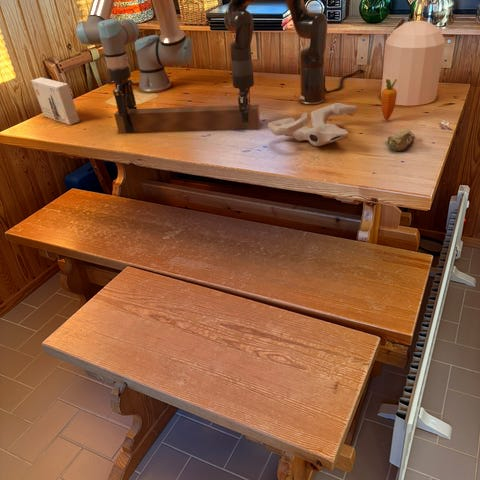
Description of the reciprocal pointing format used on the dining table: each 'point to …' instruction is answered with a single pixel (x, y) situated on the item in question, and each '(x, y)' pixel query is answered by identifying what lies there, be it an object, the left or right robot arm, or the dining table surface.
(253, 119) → the beam
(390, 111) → the carrot
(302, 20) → the right robot arm
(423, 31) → the container
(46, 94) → the skincare box
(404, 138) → the rock
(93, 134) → the dining table surface
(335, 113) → the animal horns
